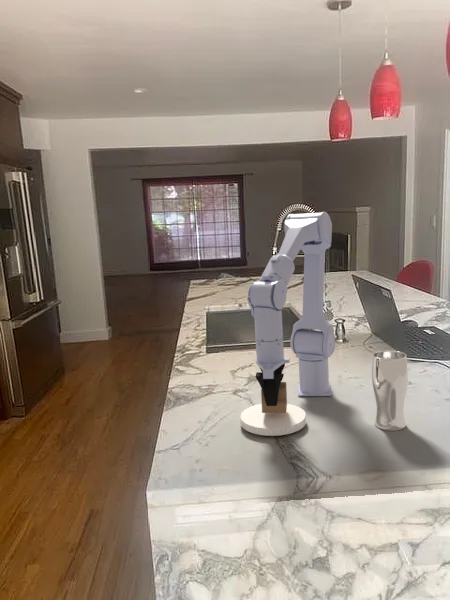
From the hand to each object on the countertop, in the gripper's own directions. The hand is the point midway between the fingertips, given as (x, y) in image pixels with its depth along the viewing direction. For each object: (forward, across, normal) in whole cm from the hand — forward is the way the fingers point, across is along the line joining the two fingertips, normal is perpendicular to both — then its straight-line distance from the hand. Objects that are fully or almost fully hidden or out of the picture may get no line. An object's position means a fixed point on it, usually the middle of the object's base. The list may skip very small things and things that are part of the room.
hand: (272, 400), depth 106 cm
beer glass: (+6, 0, -24) cm, 25 cm away
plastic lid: (+6, 0, 0) cm, 6 cm away
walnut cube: (+2, 0, 0) cm, 2 cm away
